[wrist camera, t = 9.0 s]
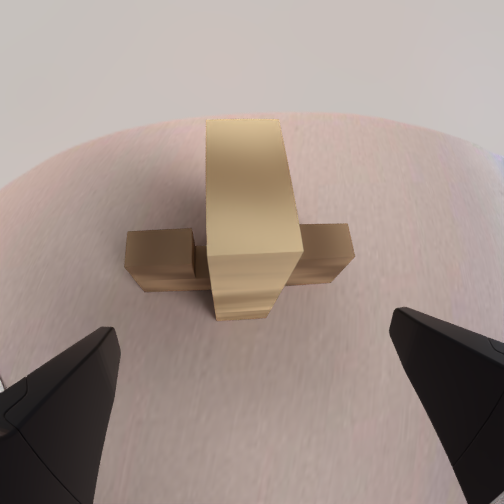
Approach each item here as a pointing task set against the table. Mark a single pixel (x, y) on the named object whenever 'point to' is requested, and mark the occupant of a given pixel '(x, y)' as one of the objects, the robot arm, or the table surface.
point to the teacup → (1, 387)
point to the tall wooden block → (249, 216)
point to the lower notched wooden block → (196, 263)
